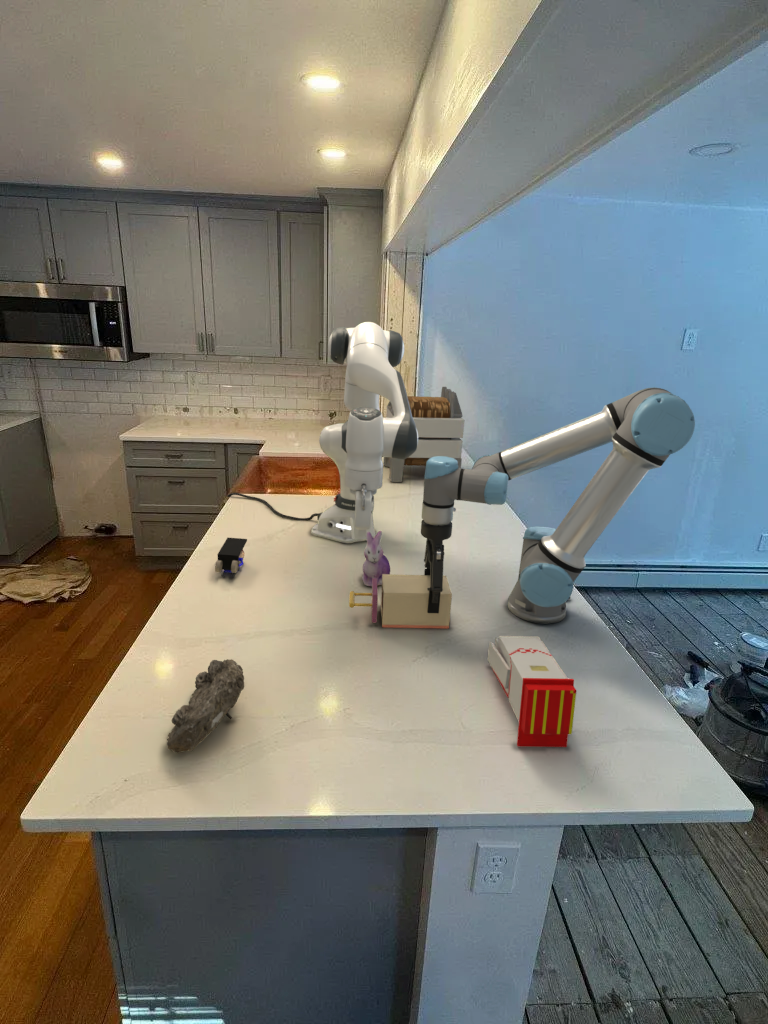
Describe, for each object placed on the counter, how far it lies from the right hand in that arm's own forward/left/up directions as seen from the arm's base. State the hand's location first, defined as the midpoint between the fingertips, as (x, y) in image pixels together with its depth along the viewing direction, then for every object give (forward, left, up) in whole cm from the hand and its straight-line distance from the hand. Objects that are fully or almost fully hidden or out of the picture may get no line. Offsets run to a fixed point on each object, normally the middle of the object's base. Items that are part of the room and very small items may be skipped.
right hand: (430, 601), depth 145 cm
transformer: (-32, -133, -5) cm, 137 cm away
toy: (-11, +34, -5) cm, 36 cm away
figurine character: (+51, -34, -5) cm, 61 cm away
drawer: (+10, -2, -4) cm, 11 cm away
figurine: (+10, -22, -5) cm, 25 cm away
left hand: (+18, -3, +18) cm, 26 cm away
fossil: (+51, +31, -5) cm, 60 cm away
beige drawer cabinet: (+4, -1, -5) cm, 6 cm away
